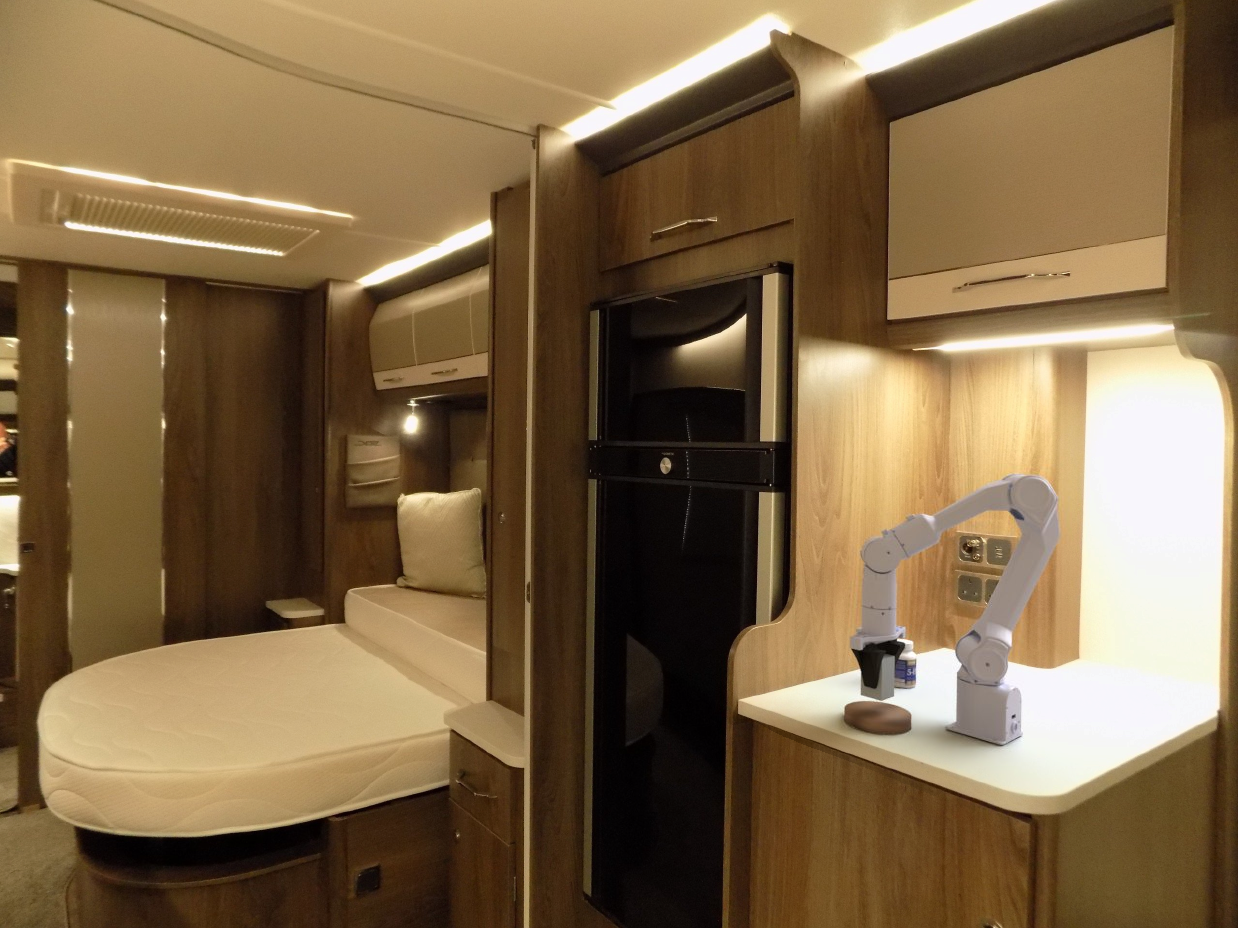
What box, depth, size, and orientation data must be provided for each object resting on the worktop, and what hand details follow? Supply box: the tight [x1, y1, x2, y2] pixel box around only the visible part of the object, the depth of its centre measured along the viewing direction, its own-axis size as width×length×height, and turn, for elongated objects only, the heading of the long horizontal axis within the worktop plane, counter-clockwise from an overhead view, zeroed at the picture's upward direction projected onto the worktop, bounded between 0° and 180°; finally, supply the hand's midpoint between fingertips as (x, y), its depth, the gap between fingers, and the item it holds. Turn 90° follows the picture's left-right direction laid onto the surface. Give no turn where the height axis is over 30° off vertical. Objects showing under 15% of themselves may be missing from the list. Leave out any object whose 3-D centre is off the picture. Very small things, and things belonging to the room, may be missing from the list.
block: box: [860, 654, 895, 702], centre depth 131 cm, size 4×4×7 cm
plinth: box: [843, 700, 913, 736], centre depth 131 cm, size 11×11×2 cm
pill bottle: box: [894, 638, 917, 689], centre depth 154 cm, size 5×5×9 cm
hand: (877, 684), depth 131 cm, fingers closed on block, 4 cm apart
